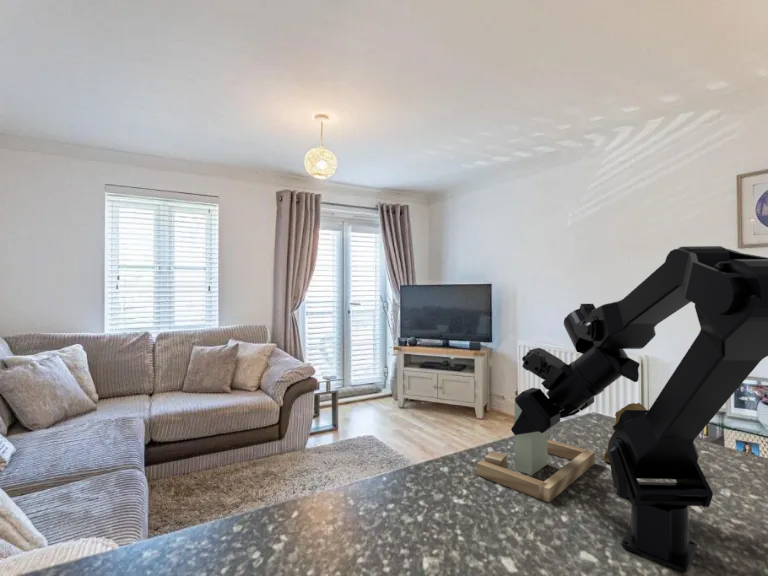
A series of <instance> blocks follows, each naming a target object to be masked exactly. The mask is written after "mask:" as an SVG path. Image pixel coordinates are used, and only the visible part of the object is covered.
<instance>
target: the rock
mask: <svg viewBox="0 0 768 576" xmlns="http://www.w3.org/2000/svg"><path fill="white" fill-rule="evenodd" d="M625 410H647V408H645V406H644V405H642V404H641V403H640V402H637V403H635V402H633V403H632V402H630V403H628V404H627V405H625V406H623V407H622V408H621V409H619V410H618V411H616V412H615V414H614V415H615V419H614V420H615V421H614V425H616V424H617V423H618V421H619V419H620V416H621V414H622V413H623V412H624V411H625ZM612 430H613V431H612V434H611V436H610V437H609V439H608V442H607V447H606V450H605V452H604V454H603V457H602V461H603V462H606V463H608V464H610V460H609V454H608V445H609V441H610V440H611V437H612V435H613V433H614V432H615V430H614V429H613V428H612Z"/></svg>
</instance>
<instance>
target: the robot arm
mask: <svg viewBox="0 0 768 576" xmlns="http://www.w3.org/2000/svg"><path fill="white" fill-rule="evenodd" d="M668 252H669V253H668V254H667V255H666V258H665V261H664V262H663V263H662V264H660V266H659V267H657V268H656V269H655V270H654V271H653V272H652V273H651V274H650V275H649V276H648V277H646V278H645V279H644V280H643V281H642V282H641V283H639V284H638V285H637V286H635V288H634V289H632V291H630V292H629V293H628V294H626V296H624V298H622V299H620V300H618V301H613V302H609V303H604V304H601V305H600V306H597V307H596V306H595V305H594V303H580V304H579V305H580V306H579V308H578V309H574V310H572V311H571V312H569V314H567V315H566V316H565V318H564V320H563V326H564V328H565V330H566V333H567V334H568V336H569V339H570V341H571V342H572V345H573V347H574V349H575V351H576V353H579V354H581V355H580V356H579V357H578V358H576V359H575V360H574V361H571V362H570V363H569V364H568V363H566V362H565V361H563V360H562V359H561V358H559V357H557V356H556V355H553V353H551V352H549V351H547V350H545V349H544V348H542V347H536V348H532V349H529V351H528V352H526V354H525V355H523V356H522V358H521V361H522V362H523V363H522V368H523V369H524V370H526V371H529V372H530V373H532V374H534V375H535V376H537V377H538V378H540V379H542V380H543V381H542V382H541V385H542V386H543V388H544V389H545V390H548V391H546V392H545V393H546V394H545V393H544V392H543V390H542V389H541V388H537V387H531V388H527V389H526V390H523V391H521V392H520V393H519V394H518V395H517V396H516V397H515V398H514V403H515V402H516V404H517V405H518V406H519V407H520V409H521V410H522V412H521V414H520V415H519V417H518V419H517V420H516V422H515V421H514V424H512V425H513V426H512V427H511V429H510V430H511V433H512V434H513V435H514V436H515V435H519V434H525V433H532V432H540V433H544V432H545V431H547V432H548V431H549V430H550V429H552V428H554V427H555V426H557V425H558V424H559V423H561V419H563V418H567V417H571V416H575V415H576V414H579V413H580V412H582V411H584V410H586V409H587V408H589V407H590V406H591V405H592V404H594V403H595V397H596V396H597V395H600V394H601V393H602V392H604V391H605V389H606V388H607V387H609V386H610V385H611V384H613V383H614V382H616V380H618V379H619V378H620V377H624V378H625V379H628V380H629V381H632V382H634V383H637V382H638V381H639V377H640V376H639V375H640V373H639V367H640V364H641V363H639V362H638V361H636V360H634V359H633V358H631V357H629V356H628V354H627V353H626V351H625V350H640V349H641V350H642V349H644V348H645V347H646V346H647V345H648V344H649V342H651V341H652V340H653V338H655V336H656V330H655V329H656V328H655V327H656V326H657V325H658V324H660V323H661V322H663V321H665V320H666V319H668V318H669V317H670V316H672V315H673V314H675V313H676V312H678V311H679V310H681V309H682V308H684V307H686V305H688V304H690V303H693V304H694V309H695V313H696V317H697V320H698V323H699V327H700V331H699V333H698V335H697V336H696V337H695V339H694V341H693V342H692V343H691V345H690V346H689V349H688V350H687V351H686V353H685V354H684V356H683V358H682V359H681V360H680V362H679V363H678V365H677V366H676V368H675V369H674V371H673V373H672V374H671V376H670V377H669V379H668V380H667V382H666V383H665V385H664V386H663V388H662V389H661V391H660V393H659V394H658V396H657V397H656V398H655V400H654V402H653V403H652V404H651V407H650V408H649V409H646V410H625V411H624V412H623V413H622V414H621V416H620V419H619V421H618V423H617V424H616V425H615V424H614V425H613V426H612V430H613V429H614V430H615V432H614V433H613V432H612V434H613V435H612V434H611V435H612V437H611V436H610V437H611V440H610V441H609V440H608V442H609V445H608V444H607V447H608V454H609V460H610V463H609V467H610V473H611V479H612V482H613V487H614V488H615V490H616V493H615V494H616V496H617V497H618V498H621V499H623V500H625V501H629V503H630V504H631V509H630V511H631V517H630V518H631V522H630V525H631V527H630V529H629V530H628V532H627V533H626V534H625V536H624V537H623V539H622V540H621V547H622V548H624V549H625V550H628V551H631V552H633V553H636V554H638V555H641V556H643V557H646V558H648V559H650V560H652V561H656V563H657V562H658V563H660V564H662V565H664V566H668V567H670V568H672V569H675V570H677V571H680V572H682V573H687V572H688V570H689V568H690V566H691V564H692V561H693V559H694V557H695V554H696V552H697V549H698V544H697V543H696V542H695V541H693V540H690V539H689V528H690V527H689V526H690V525H689V521H690V520H689V517H690V516H689V514H690V513H689V507H703V508H709V507H710V505H711V502H712V498H713V497H714V493H713V490H712V488H711V486H710V484H709V482H708V480H707V478H706V476H705V474H704V472H703V470H702V469H701V467H700V464H699V462H698V460H699V457H700V454H699V452H698V449H697V447H696V443H695V439H696V438H697V437H698V436H699V435H700V434H701V432H702V431H704V429H705V428H706V426H708V424H709V423H710V422H711V420H713V419H714V417H715V416H716V414H717V413H718V412H719V411H720V410H721V408H722V407H723V406H724V405H725V404H726V403H727V402H728V401H729V399H730V398H731V397H732V396H733V395H734V394H735V392H736V391H737V390H738V389H739V387H740V386H741V385H742V384H743V383H744V381H745V380H746V379H747V378H748V376H750V374H751V373H752V372H753V371H754V370H755V368H756V367H757V366H758V365H759V364H760V362H761V361H763V360H764V359H765V358H767V357H768V257H766V256H760V255H755V254H749V253H744V252H740V251H736V250H733V249H731V248H726V247H724V246H721V245H720V246H719V245H714V246H712V245H710V246H709V245H708V246H707V245H706V246H704V245H703V246H701V245H700V246H695V245H694V246H679V247H678V248H674V249H672V250H670V251H668ZM638 479H639V480H641V479H642V480H643V479H645V480H676V482H668V481H667V482H666V481H665V482H663V481H661V482H657V481H653V482H652V481H638Z"/></svg>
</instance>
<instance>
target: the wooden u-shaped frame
mask: <svg viewBox="0 0 768 576" xmlns="http://www.w3.org/2000/svg"><path fill="white" fill-rule="evenodd" d="M547 454H550V455H554V456H557V457H559V458H560V457H561V458H564V459H568V460H570V461H569V462H568V463H566V464H565V465H564V466H563V467H561V468H560V469H559V470H557V471H556V472H554V473H553V474H552V475H551V476H550V477H548V478H547V479H546V480H544V481H542V480H539V479H537V478H534V477H531V476H528V475H527V474H522V473H521V472H518V471H517V472H516V471H514V470H511V469H510V470H508V469H506V468H503V467H500V466H497V465H494V464H491V463H488V462H486V461H485V460H482V459H481V460H479V461H477V462H476V475H477V476H478V477H481V478H484V479H487V480H489V481H491V482H495V483H498V484H499V485H502V486H505V487H507V488H510V489H513V490H515V491H518V492H521V493H523V494H525V495H528V496H531V497H534V498H536V499H539V500H542V501H544V502H547V503H551V502H552V501H553V500H554V499H555V498H556V497H557V496H559V495H560V494H561V493H562V492H564V490H565V489H567V488H568V487H569V486H570V485H571V484H572V483H573V482H575V481H576V480H577V479H579V478H580V477H581V476H582V475H583V474H584V473H585V472H586V471H588V470H589V469H590V468H591V467H593V466H594V465H595V464H596V452H595V451H593V450H590V449H589V450H588V449H585V448H581V447H577V446H574V445H570V444H568V443H564V442H560V441H556V440H552V439H548V438H547Z"/></svg>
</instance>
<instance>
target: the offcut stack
mask: <svg viewBox="0 0 768 576" xmlns="http://www.w3.org/2000/svg"><path fill="white" fill-rule="evenodd" d="M484 461H486V462H488V463H491V464H494V465H497V466H500V467H503V468H506V469H508V470H511V465H510V464H511V463H510V462H509V461H508V454H506V453H501V452H498V451H494V450H491V451H489V452H488V453H487V454H486V455H485V456H484Z"/></svg>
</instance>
